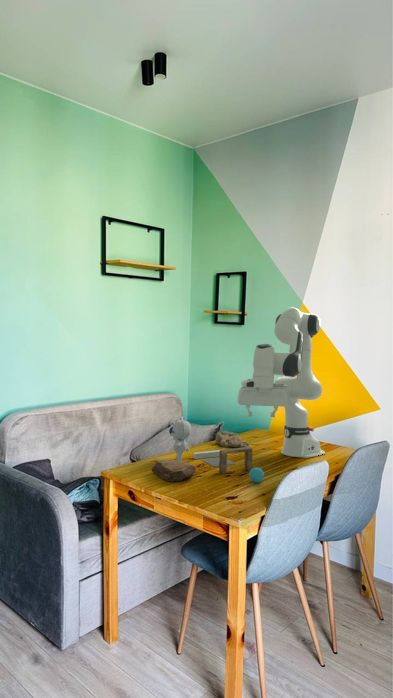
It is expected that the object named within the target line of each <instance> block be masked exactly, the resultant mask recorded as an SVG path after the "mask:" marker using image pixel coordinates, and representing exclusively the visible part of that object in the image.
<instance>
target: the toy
mask: <svg viewBox="0 0 393 698" xmlns="http://www.w3.org/2000/svg"><path fill="white" fill-rule="evenodd" d="M191 433H192V425H191V424H190V422H189V421H187V420H184V417H183V416H180V417H179V420H176V421H175V422H174V423H173V424H172V426H171V427H170V428H169V435H170V436H171V437H173V438H172V440H173V441H174V443H173V446H172V450H173V451H174V452H176V455H175V460H179V461H183V453H184V452H187V453H188V452H189V451H190V447H188V446H187V445H188V444H187V442H186V439H187V438H188V437H189V436H190V435H191Z"/></svg>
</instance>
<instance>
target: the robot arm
mask: <svg viewBox="0 0 393 698" xmlns="http://www.w3.org/2000/svg"><path fill="white" fill-rule="evenodd" d="M320 328H321V318H320V316H319V315H318V314H316V313H312V312H311V313H308V312H307V313H306V312H302V311H300V309H298V308H296V307H288V308H286V309H285V310H284V311H283V312H282V313H280V314H278V315H277V317H275V324H274V331H273V332H274V336H275V337H276V339H277V340H279V342H281V343H282V344H285V345H289V348H288V352H275V346H274V345H273V344H269V343H263V344H261V343H260V344H257V345H256V346H255V347H254V348H255V349H254V353H253V361H252V366H253V372H252V378H248V379H246V380H242V381H241V383H240V384H241V387H240V388H239V390H238V393H237V403H238V404H239V406H245V409H246V410H247V416H248V417H253V412H252V411H251V410H250V408H251V406H260V407H261V406H262V407H273V411H270V415H269V416H270V417H271V418H276V413H277V411H279V407H283V408H284V414H285V416H284V418H285V419H284V420H285V422H284V427H283V432H284V433H283V434H284V438H283V444H282V448H281V452H280V453H281V454H282V455H285V456H288V457H293V458H295V457H296V458H304V459H309V458H313V457H318V455H319V456H322V454H323V455H325V454H326V452H325V450H323V449H321V443H320V441H319V440H318V439H317V438H316V437H315V436H313V435H312V434H311V432H314V431H315V428H314V427H313V426H308V424H309V423H308V418H309V414H308V413H309V412H308V410H307V409H306V408H305V407H304V406H302V404H301V402H300V400H302V401H303V400H304V401H315V400H316V401H317V400H318V399H319V398H320V397H321V396H322V393H323V386H322V384H321V381H319V379H317V378H316V376H315V375H314V372H313V370H312V350H313V349H312V348H313V346H312V345H313V342H312V339H313V338H314V336H316V335H317V334H319V331H320ZM275 376H280V377H277V378H275ZM275 379H276V380H275Z"/></svg>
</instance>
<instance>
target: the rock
mask: <svg viewBox="0 0 393 698" xmlns="http://www.w3.org/2000/svg"><path fill="white" fill-rule="evenodd" d="M196 468H197V467H196V466H195V465H194V464H190V463H188V462H186V461H183V460H182V461H179V460H177V459H173V458H172V459H163V460H157V461H156V462H155V464H154V465H152V468H151V472H152V473H154V474H156V475H157V476H159V477H160V478H161V479H163V480H165V481H168V482H178V481H182V480H184V479H186V478H190V477H193V476H194V475H195V473H196Z"/></svg>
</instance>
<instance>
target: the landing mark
mask: <svg viewBox="0 0 393 698" xmlns="http://www.w3.org/2000/svg"><path fill="white" fill-rule="evenodd" d="M201 461H202V462H204V463H206V464H208V465H209V466H212V467H213V468H215V467H219V457H212V458H203V459H201ZM231 465H237V463H236V462H234V461H232V460H230V459H228V458H227V466H231Z"/></svg>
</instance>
